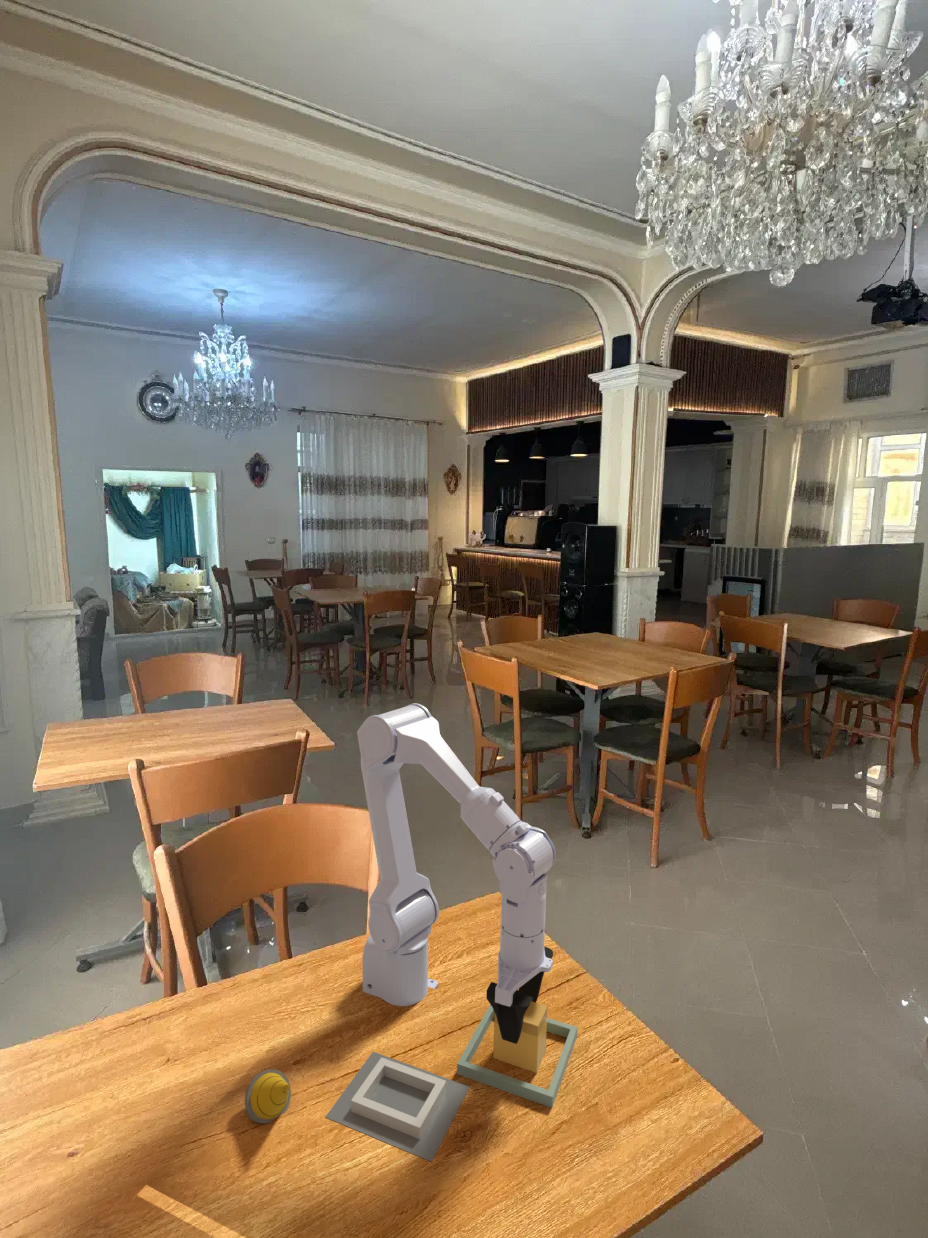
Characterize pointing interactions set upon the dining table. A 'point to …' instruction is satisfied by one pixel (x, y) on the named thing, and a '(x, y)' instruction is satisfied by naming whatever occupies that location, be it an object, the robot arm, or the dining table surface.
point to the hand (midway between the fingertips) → (519, 1019)
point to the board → (400, 1105)
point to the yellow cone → (267, 1096)
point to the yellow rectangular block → (524, 1040)
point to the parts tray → (511, 1083)
